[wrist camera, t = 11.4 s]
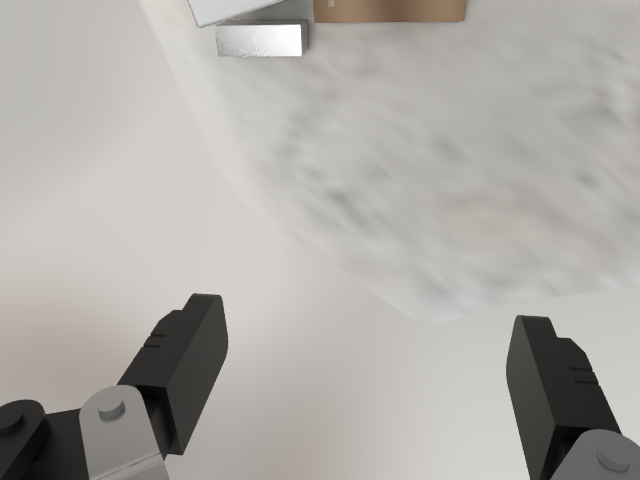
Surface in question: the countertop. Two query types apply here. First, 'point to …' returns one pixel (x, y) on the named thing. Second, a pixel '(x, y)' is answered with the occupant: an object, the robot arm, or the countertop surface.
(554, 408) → the robot arm
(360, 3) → the plank
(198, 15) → the small box
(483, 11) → the countertop surface
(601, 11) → the countertop surface
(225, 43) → the block
